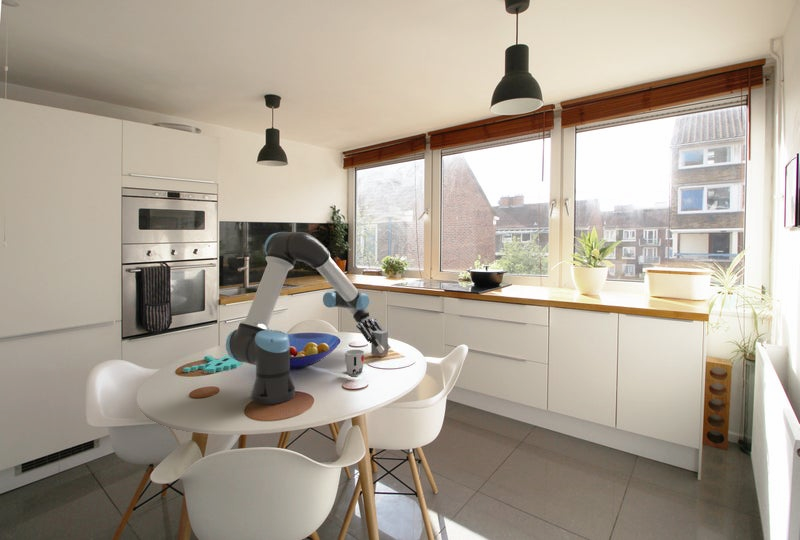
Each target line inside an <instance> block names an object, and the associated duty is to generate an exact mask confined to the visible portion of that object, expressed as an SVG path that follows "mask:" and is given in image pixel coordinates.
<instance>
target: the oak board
mask: <svg viewBox="0 0 800 540" xmlns="http://www.w3.org/2000/svg"><path fill="white" fill-rule="evenodd" d="M400 358H406V356H405V355H403V354H401V353H398V352H396V351H394V350H392V349H389V350H388V354H387V355H385V356H382V357H380V356H375V355H371V352H370V353H364V364H363V365H366V364H370V363H371V364H372V363H377V362H382V361H389V360H395V359H400Z"/></svg>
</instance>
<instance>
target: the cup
mask: <svg viewBox="0 0 800 540" xmlns="http://www.w3.org/2000/svg"><path fill="white" fill-rule="evenodd" d="M364 354H365V350H363V349H349V350H345V352H344V357H345V365H346V366H345V367H346V371H347V373H348V377H349V376H351V377H350V378H358V376H357V375H359V374H361V373H363V370H364V365H365V364H364Z"/></svg>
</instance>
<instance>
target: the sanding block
mask: <svg viewBox="0 0 800 540" xmlns="http://www.w3.org/2000/svg"><path fill="white" fill-rule="evenodd" d="M372 333H373V335H374V337H375V339H377V340H378V341H379V343H380V344H381V345H382V347H383V348H384V351H383V352H382V353H380V352H379V351H378V349H377V348H376V347H375V346H374V344H373V343H370V344H371V350H370V351H371V352H370V353H371V355H375V356H380V357H382V356H385V355H387V354H388V343H389V340H388V339H389V338H388V337H389V332H388V331H385V330H384V331H380V330H377V331H372Z"/></svg>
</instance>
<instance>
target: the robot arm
mask: <svg viewBox="0 0 800 540" xmlns="http://www.w3.org/2000/svg"><path fill="white" fill-rule="evenodd" d="M264 250H265V251H264V253H265V255H266V256H265V260H266V262H267V265H266V266H265V269H264V272H263V275H262V277H261V279H260V282H259V285H258V287H257V289H256V292H255V295H254V297H253V300H252V302H251V306H250V308H249V310H248V313H247V315H246V317H245V320H243V321H240V322H239V324H238V326H237V329H234V330H233V331H231V332H230V333H229V334H228V336H227V338H226V339H225V340H226V341H225V351H226V353H227V356H230V357H231V358H233V359H235V360H237V361H239V362H243V363H245V364H248V365H253V366H255V380H254V384H253V387H252V390H251V395H250V396H251V398H250V399H251V401H252V402H253V403H256V404H260V405H275V404H281V403H284V401H285V402H287V400H288V401H290V400H291V398H292V399H293V398H294V397H295V396H296V388H295V385H294V382H293V379H292V377H291V374H290V373H291V372H290V371H291V370H290V368H291V365H290V364H291V363H290V359H291V357H290V355H291V353H290V351H291V350H290V349H291V348H290V347H291V344H290V338H289V335H288V334H287V333H286V332H284V331H281V330H279V329H278V330H277V329H269V325H270V321H271V318H272V316H273V313H274V311H275V308H276V305H277V302H278V299H279V297H280V294H281V291H282V288H283V286H284V284H285V281H286V279H287V275H288V273H289V271H290V270H292V269H294V267H295V264H296V262H302V263H305V264H307V265H309V266H310V268H312V269H316V270H317V272H319V274H320V275H321V276H322V277H323V278H324V279H325V280H326V281H327V283H328V284H329V285H330V286H331V287H332V288H333V289H334V290H330V291H326V292H325V293H324V294H323V297H322V303H323V305H324V306H325V307H327V308H343V309H347V310H348V312H349V313H350V314H351V316H352V317H353V319H354V320H355V322H356V323H357V325H356V328H357V329H358V330H359V331H360V333H361V334H362V336H363V337H364V338H365V340H366V341H367V342H368V343H369V344H371V343H373V344H374V346H375V347H376V348H377V349H378V351H379V352H380V353H382V352H383V351H384V348H383V347H382V345H381V344H380V343H379V341H378V340H377V339H375V337H374V335H373V333H372V332H373V331H377V330H380V331H385V330H384V329H383V328H382V326H381V325H380V324H379V322H378V320H377V318H374V319H373V318H371V316H370V312H369V311H368V307H369V305H370V297H369V295H368V294H366V293H363V292H362V293H361V292H360V291H359V290H358V288H356V286H355V285H354V283H352V281H350V279H349V277H348V276H346V274H345V273H344V272H343V270H341V268H340V267H339V265H338V264H337V263H336V262H335V261H334V260H333V259H332V258H331V253H330V251H329V249H328V248H327V247H325V245H324V244H323V243H322V242H321V241H320V240H318V239H317V238H316V237H314V236H313V235H312V234H309V233H307V232H303V231H290V232H289V231H280V232H275V233H272V234H270V235H269V236H268V237H267V239H266V241H265V242H264ZM391 349H392V346H391V344H390V343H389V342H388V350H391Z"/></svg>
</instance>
